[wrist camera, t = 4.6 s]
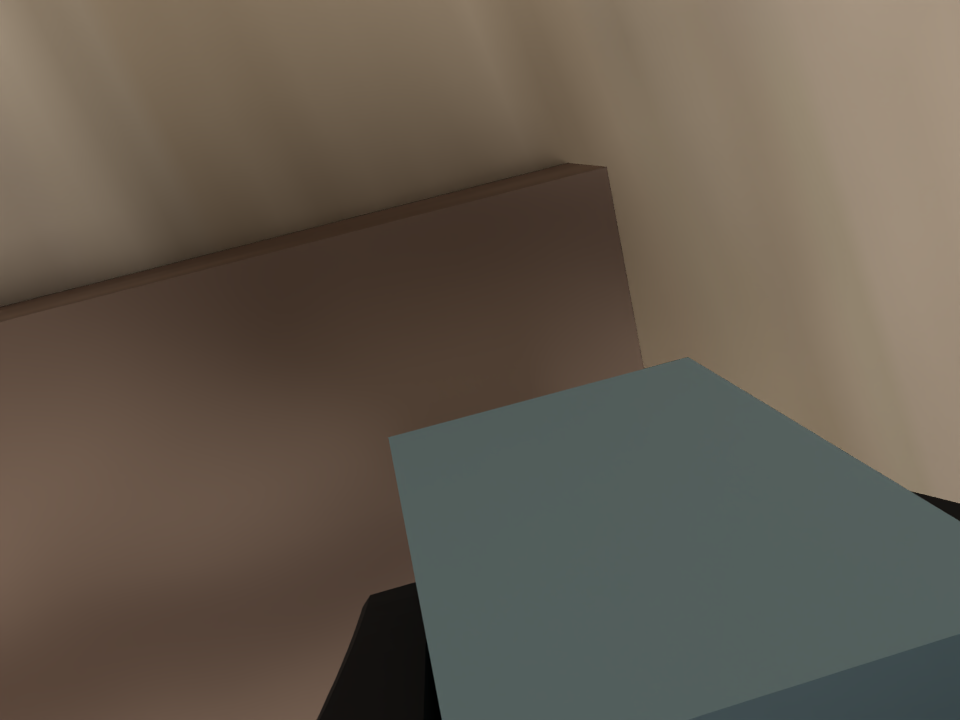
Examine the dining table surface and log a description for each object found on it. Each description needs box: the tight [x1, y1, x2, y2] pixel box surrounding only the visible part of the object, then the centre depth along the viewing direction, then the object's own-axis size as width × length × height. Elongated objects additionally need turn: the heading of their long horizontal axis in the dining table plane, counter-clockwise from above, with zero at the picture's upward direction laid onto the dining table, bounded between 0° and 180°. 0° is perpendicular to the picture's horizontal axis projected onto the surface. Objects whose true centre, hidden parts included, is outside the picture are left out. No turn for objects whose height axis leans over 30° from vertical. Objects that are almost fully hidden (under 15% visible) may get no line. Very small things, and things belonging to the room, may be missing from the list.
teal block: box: [388, 357, 960, 720], centre depth 8 cm, size 4×4×6 cm
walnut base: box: [0, 163, 644, 720], centre depth 17 cm, size 14×14×2 cm
